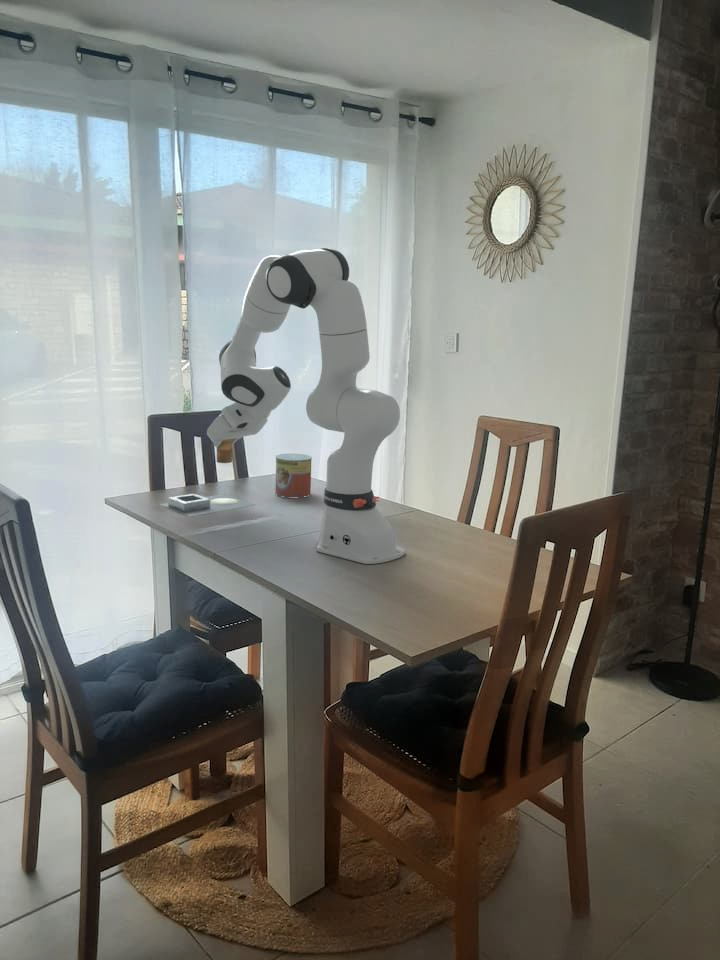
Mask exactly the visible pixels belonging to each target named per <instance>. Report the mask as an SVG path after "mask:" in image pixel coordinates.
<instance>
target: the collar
mask: <svg viewBox="0 0 720 960" xmlns="http://www.w3.org/2000/svg"><path fill="white" fill-rule="evenodd" d="M205 497H206V496H203V495H200V494H196V493H189V494H182V495H175V496H169V497H168V498H167V500H168V501H167V503H168V506H170V507H173V508H175V509H178V510H180V511H183V512H187V511H193V510H199V509H205V508H210V499H208V498H205Z"/></svg>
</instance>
